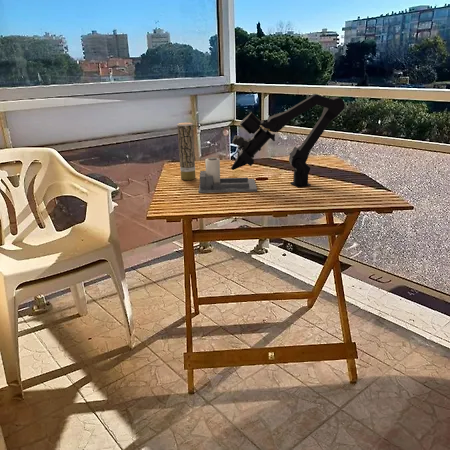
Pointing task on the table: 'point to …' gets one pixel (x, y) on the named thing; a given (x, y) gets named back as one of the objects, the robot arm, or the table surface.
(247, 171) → the table surface
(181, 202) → the table surface
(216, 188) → the jig
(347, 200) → the table surface
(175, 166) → the table surface
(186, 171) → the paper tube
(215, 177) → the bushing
